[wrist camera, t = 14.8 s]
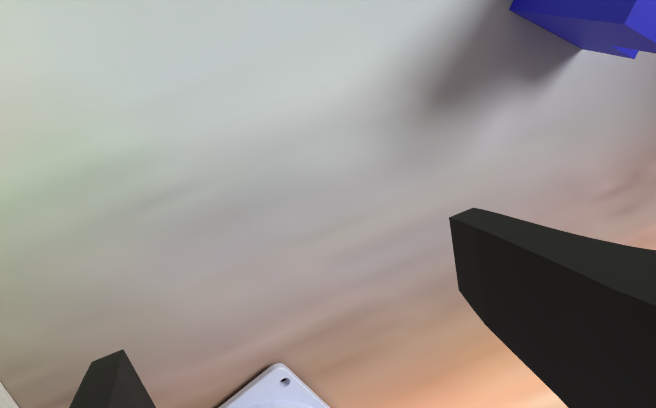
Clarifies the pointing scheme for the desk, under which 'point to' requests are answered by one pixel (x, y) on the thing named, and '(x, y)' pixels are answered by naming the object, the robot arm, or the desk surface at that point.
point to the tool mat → (6, 399)
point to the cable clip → (596, 23)
